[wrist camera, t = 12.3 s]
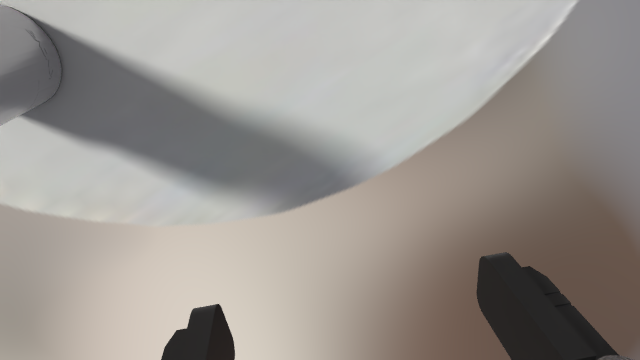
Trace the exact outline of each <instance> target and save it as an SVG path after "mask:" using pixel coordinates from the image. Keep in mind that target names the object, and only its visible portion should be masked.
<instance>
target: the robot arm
mask: <svg viewBox="0 0 640 360" xmlns="http://www.w3.org/2000/svg"><path fill="white" fill-rule="evenodd" d="M61 73H62V70H61V62H60V59H59V56H58V53H57V50H56V48H55V47H54V45H53V43H52V41H51V40H50V38H49V37H48V36H47V35H46V33H45V32H44V31H43V30H42V29H41V28H40V27H39V26H38V25H37V24H36V23H35V22H34V21H33V20H31V19H30V18H28V17H27V16H25V15H24V14H22V13H21V12H19V11H17V10H14V9H12V8H10V7H8V6H4V5H0V126H1V125H3V124H4V123H6V122H8V121H10V120H12V119H14V118H16V117H18V116H20V115H22V114H24V113H25V112H27V111H29V110H31V109H33V108H35V107H37V106H38V105H40V104H42V103H44V102H46V101H47V100H48V99H50V98H51V97H52V96H53V95H54V93H55V92H56V91H57V89H58V87H59V84H60V82H61ZM477 299H478V303H479V306H480V309H481V311H482V312H483V315H484V316H485V318H486V319H487V321H488V323H489V324H490V326H491V327H492V329H493V331H494V332H495V334H496V335H497V337H498V338H499V340H500V342H501V343H502V345H503V347H504V348H505V350H506V352H507V353H508V355H509V356H510V358H511V360H633V359H630V358H627V357H623V356H620V355H618V354H617V353H616V352H615V351H614V350H613V349H612V348H611V346H610V345H609V344H608V343H607V342H606V341H605V340H604V339H603V338H602V337H601V335H600V334H599V333H598V332H597V331H596V330H595V329H594V328H593V327H592V326H591V325H590V323H589V322H588V321H587V320H586V319H585V318H584V317H583V316H582V315H581V314H580V313H579V311H577V309H576V308H575V307H574V306H572V305H571V303H570V301H569V300H568V299H567V298H566V297H565V296H564V295H563V294H561V293H560V291H559V289H558V288H557V287H556V286H555V285H554V284H553V283H552V282H551V281H550V280H549V279H548V278H547V277H546V276H544V275H543V274H541V273H540V272H538V271H536V270H535V269H533V268H532V267H530V266H528V267H521V266H520V265H519V264H518V263H517V262H516V260H515V259H514V258H513V257H512V256H511V255H510V254H509V253H507V252H505V253H499V254H495V255H489V256H483V257H481V258H480V261H479V271H478V283H477ZM234 359H235V350H234V341H233V337H232V334H231V332H230V329H229V326H228V324H227V321H226V319H225V316H224V313H223V311H222V308H221V306H220V305H219V304H216V305H210V306H206V307H200V308H194V309H193V310H192V312H191V315H190V319H189V323H188V327H187V329H181V330H177V331H176V332H175V333H174V335H173V336H172V338H171V339H170V340H169V342H168V343H167V345H166V346H165V349H164V352H163V356H162V359H161V360H234Z"/></svg>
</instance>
